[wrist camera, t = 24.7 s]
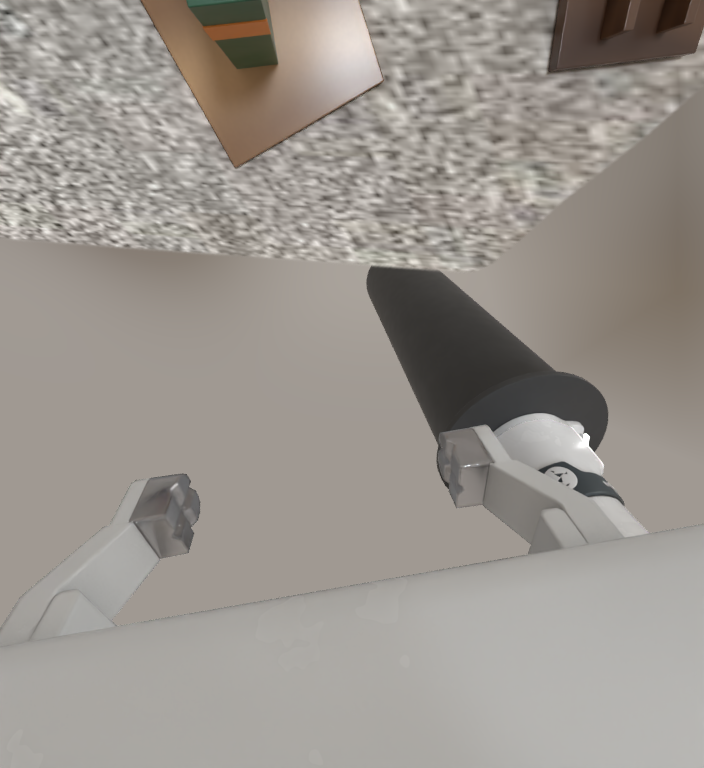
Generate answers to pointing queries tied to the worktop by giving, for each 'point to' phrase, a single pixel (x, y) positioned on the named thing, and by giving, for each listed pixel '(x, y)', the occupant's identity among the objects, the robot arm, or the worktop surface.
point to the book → (239, 29)
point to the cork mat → (273, 70)
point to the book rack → (624, 31)
